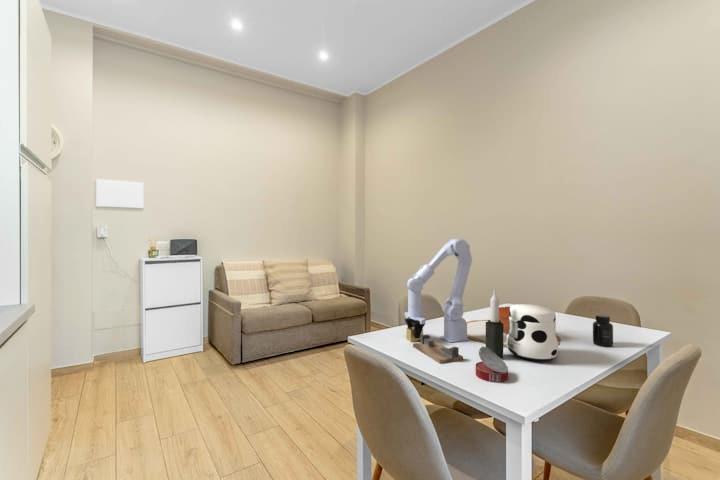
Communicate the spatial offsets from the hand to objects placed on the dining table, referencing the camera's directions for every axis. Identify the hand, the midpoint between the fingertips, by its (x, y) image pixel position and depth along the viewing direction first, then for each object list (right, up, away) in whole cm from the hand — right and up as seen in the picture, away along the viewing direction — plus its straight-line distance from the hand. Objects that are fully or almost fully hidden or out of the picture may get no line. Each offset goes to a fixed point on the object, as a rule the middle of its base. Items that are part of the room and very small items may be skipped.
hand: (414, 336), depth 143 cm
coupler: (0, -1, 0) cm, 1 cm away
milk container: (+41, -2, -19) cm, 45 cm away
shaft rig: (+6, -2, -16) cm, 17 cm away
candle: (+27, -2, -20) cm, 33 cm away
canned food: (+19, -2, -37) cm, 41 cm away
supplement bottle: (+77, -2, -7) cm, 77 cm away
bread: (+51, -2, +10) cm, 52 cm away
